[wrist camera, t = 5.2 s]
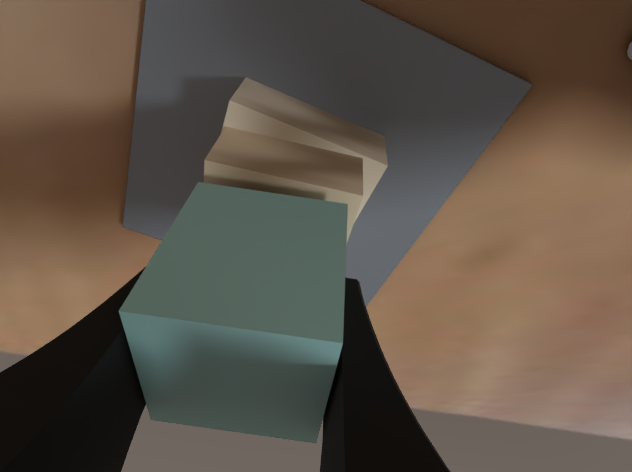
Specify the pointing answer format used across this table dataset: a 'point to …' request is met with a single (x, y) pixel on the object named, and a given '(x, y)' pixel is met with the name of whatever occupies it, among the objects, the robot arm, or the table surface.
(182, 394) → the teal block
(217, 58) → the felt mat
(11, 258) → the table surface
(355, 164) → the tower mid
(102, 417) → the robot arm
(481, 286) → the table surface
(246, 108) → the tower base
